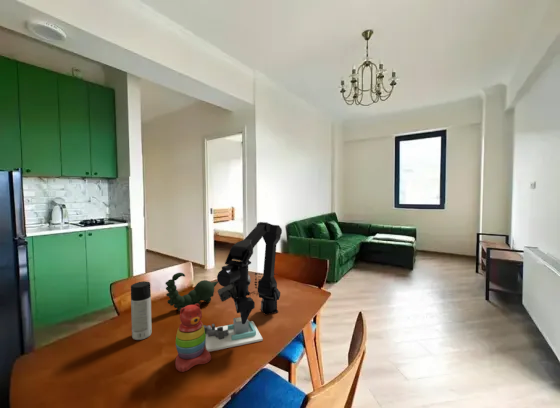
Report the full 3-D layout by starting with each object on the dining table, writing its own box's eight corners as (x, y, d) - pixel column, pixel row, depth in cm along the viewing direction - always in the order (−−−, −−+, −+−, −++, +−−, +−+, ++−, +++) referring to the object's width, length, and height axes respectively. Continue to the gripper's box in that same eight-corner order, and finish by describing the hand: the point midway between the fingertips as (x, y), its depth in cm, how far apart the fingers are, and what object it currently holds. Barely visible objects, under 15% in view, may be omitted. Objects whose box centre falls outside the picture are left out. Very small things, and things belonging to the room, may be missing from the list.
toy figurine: (174, 321, 116) (224, 300, 132) (169, 279, 113) (221, 263, 130) (166, 313, 122) (215, 294, 139) (161, 274, 120) (211, 259, 137)
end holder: (250, 324, 108) (250, 321, 108) (256, 335, 100) (256, 331, 100) (227, 328, 105) (227, 325, 105) (231, 340, 97) (231, 336, 97)
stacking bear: (178, 374, 80) (177, 316, 79) (170, 357, 88) (169, 304, 87) (213, 360, 86) (212, 307, 85) (202, 345, 95) (201, 296, 94)
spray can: (155, 332, 103) (154, 282, 102) (141, 342, 97) (140, 288, 95) (142, 329, 105) (141, 280, 104) (127, 338, 99) (126, 286, 98)
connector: (246, 328, 105) (246, 315, 105) (248, 333, 101) (248, 320, 101) (233, 330, 103) (233, 317, 103) (235, 336, 99) (235, 322, 99)
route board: (252, 322, 111) (252, 315, 111) (262, 340, 98) (262, 332, 98) (203, 331, 104) (203, 323, 104) (206, 352, 91) (206, 343, 91)
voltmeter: (228, 292, 143) (228, 274, 143) (231, 285, 155) (231, 268, 154) (277, 292, 144) (277, 274, 143) (277, 285, 155) (277, 268, 155)
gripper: (215, 273, 107) (216, 311, 108) (223, 289, 89) (223, 334, 90) (243, 270, 111) (243, 306, 112) (255, 285, 93) (255, 328, 94)
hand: (240, 318), depth 102 cm, fingers open, 9 cm apart
